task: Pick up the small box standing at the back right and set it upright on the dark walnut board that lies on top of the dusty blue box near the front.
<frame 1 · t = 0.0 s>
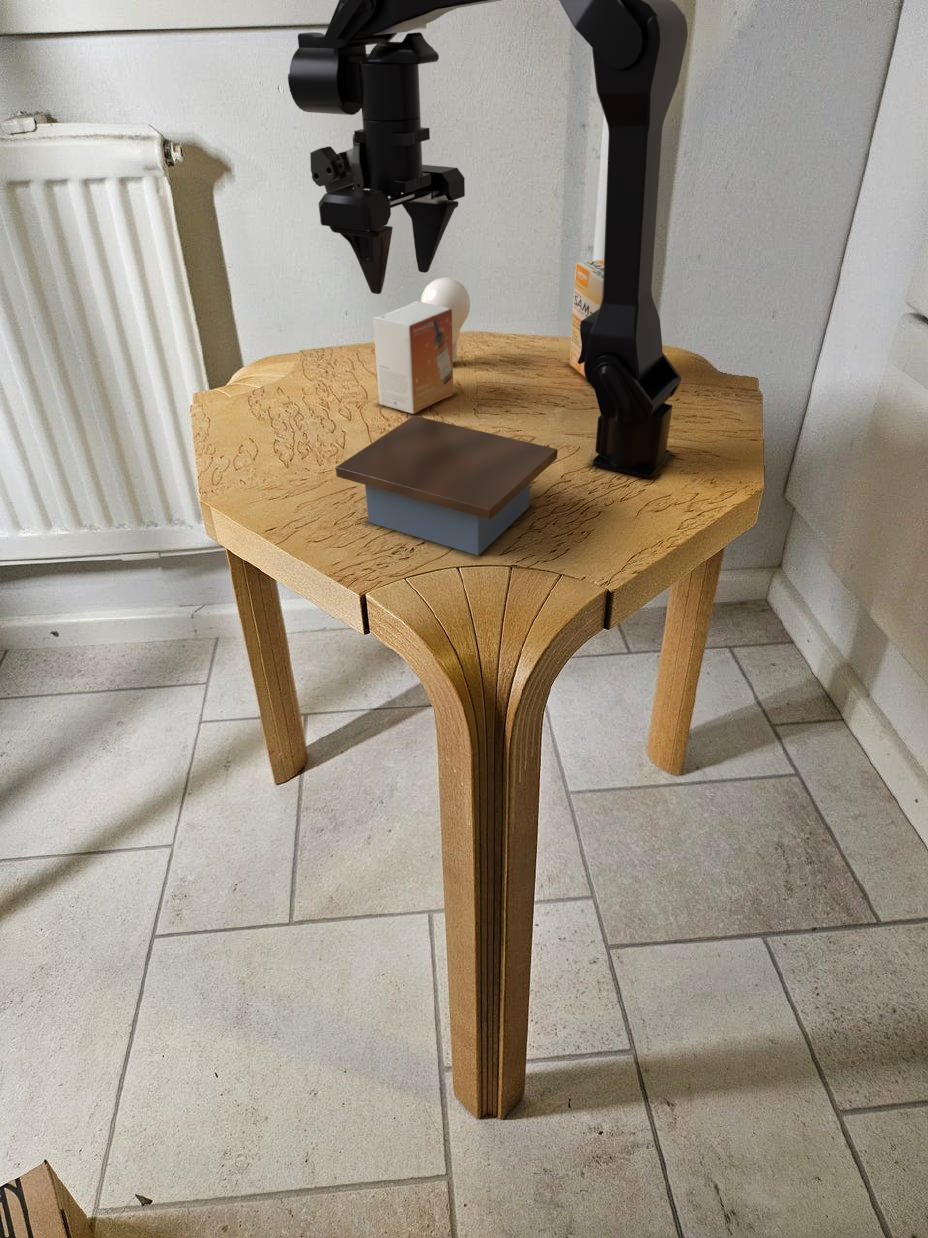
hand: (400, 282, 93), 15 cm above the table, tool pointing down, fingers open, 9 cm apart
lightbulb: (447, 365, 114), on the table
wooden board: (448, 462, 79), on the blue box, point 5 cm above the table
supplement box: (597, 375, 110), on the table
small box: (417, 401, 105), on the table
blue box: (449, 514, 82), on the table
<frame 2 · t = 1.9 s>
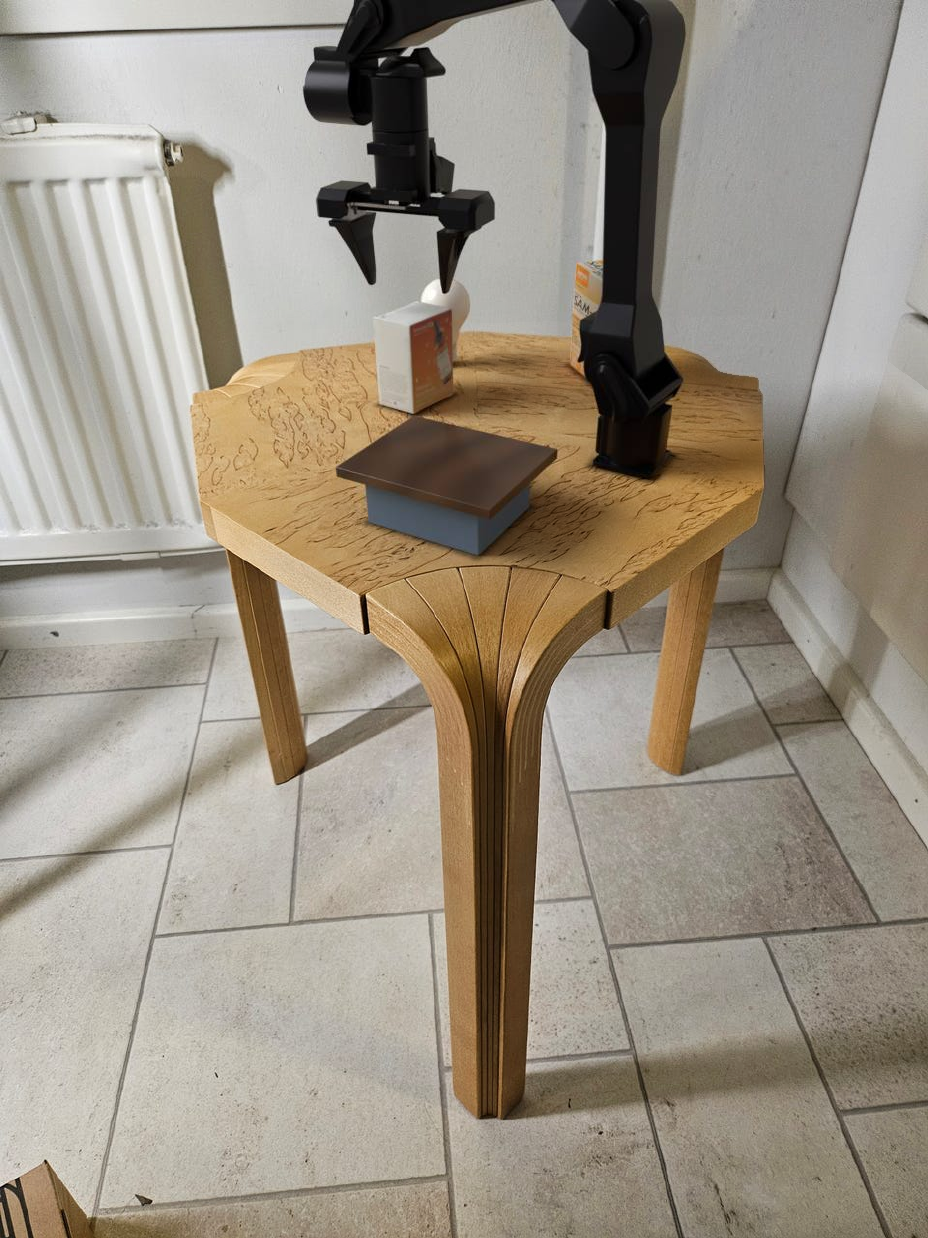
hand: (408, 288, 96), 13 cm above the table, tool pointing down, fingers open, 9 cm apart
nothing on the table moved.
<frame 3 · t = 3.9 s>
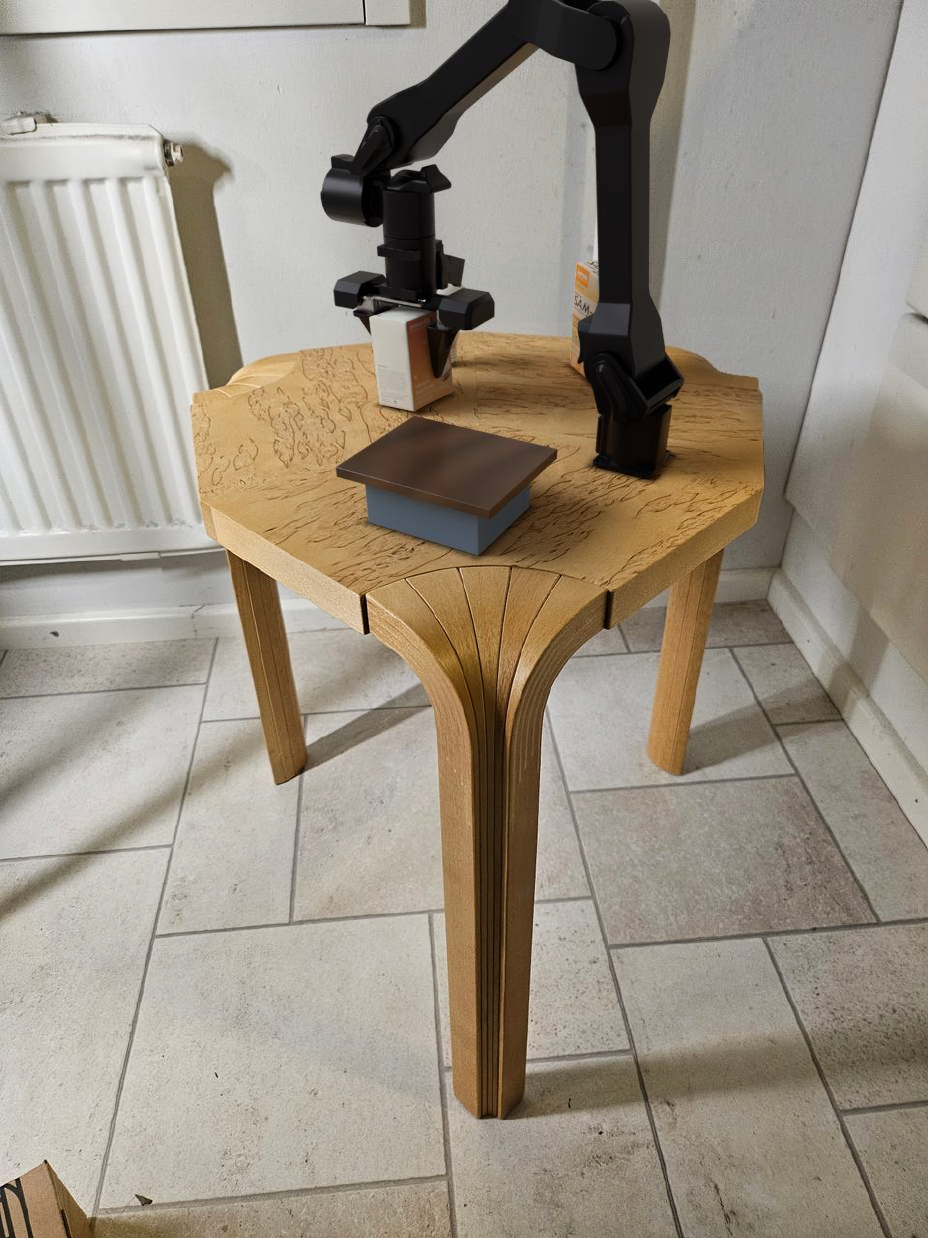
hand: (415, 372, 102), 3 cm above the table, tool pointing down, fingers closed on small box, 6 cm apart
small box: (417, 399, 104), on the table, touching gripper
everything else where it was.
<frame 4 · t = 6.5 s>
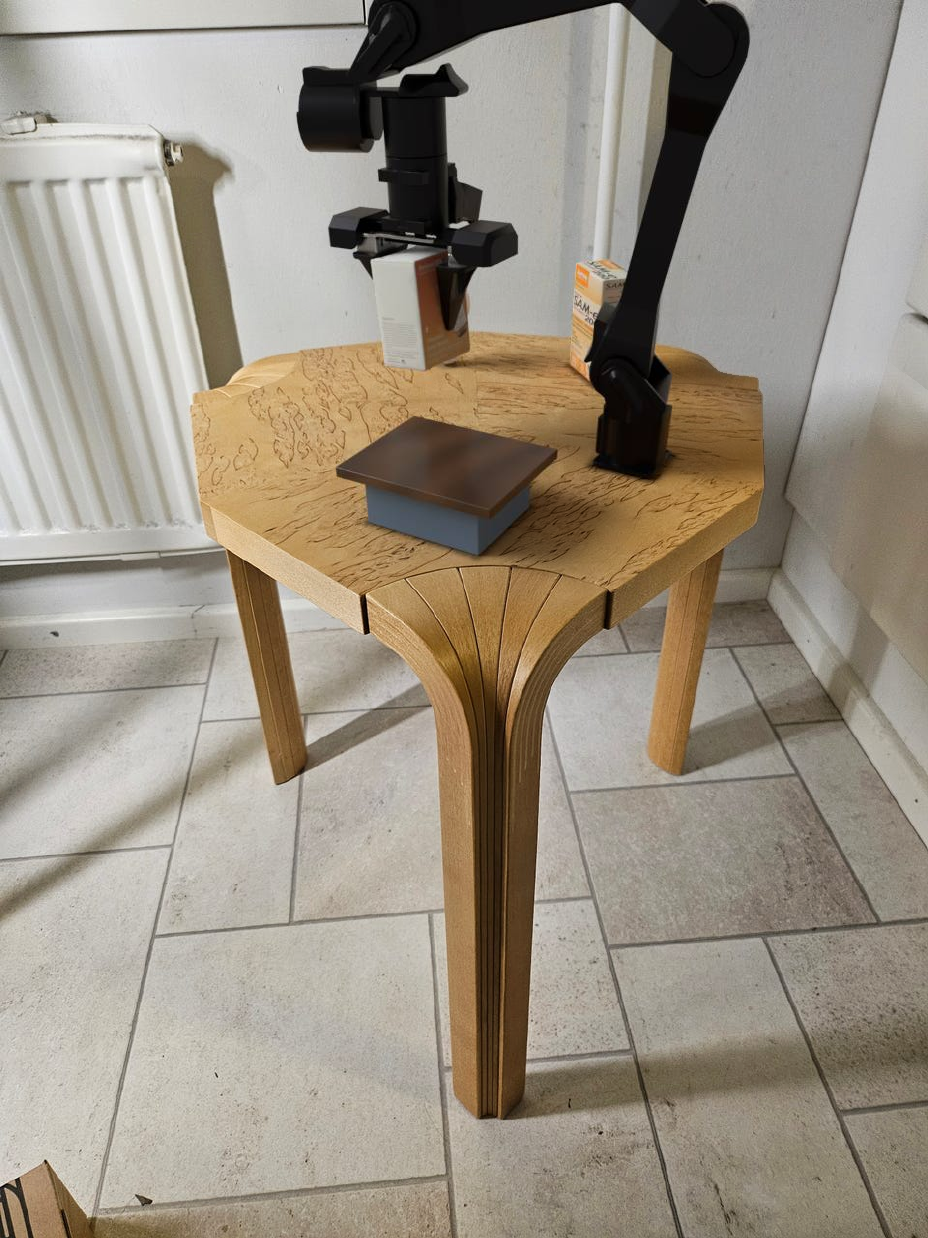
hand: (425, 325, 88), 13 cm above the table, tool pointing down, fingers closed on small box, 6 cm apart
small box: (428, 360, 89), point 9 cm above the table, touching gripper
everything else where it was.
when the fingers open (10 cm above the table, at t = 9.1 s): small box stays where it is, resting on wooden board.
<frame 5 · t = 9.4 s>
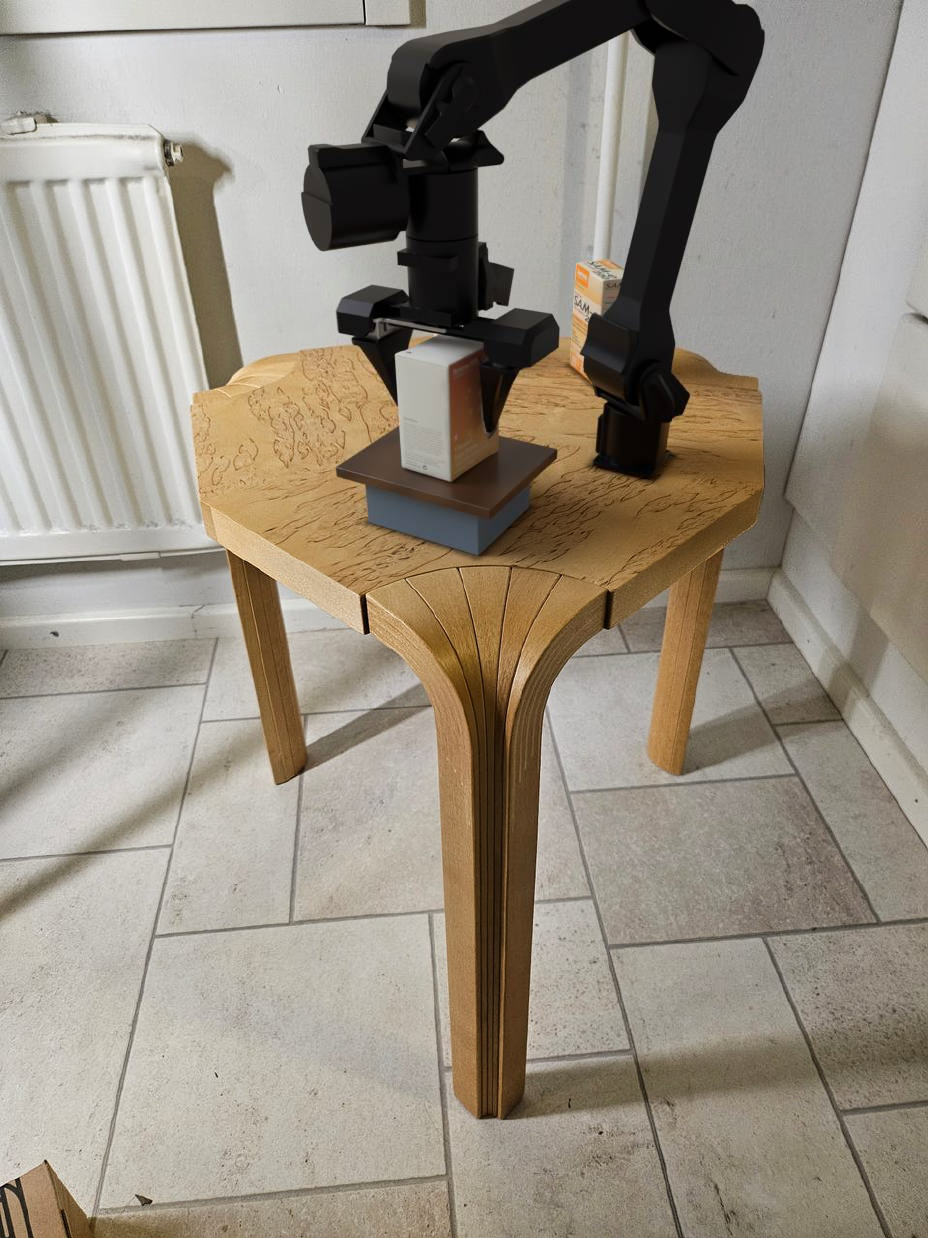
hand: (447, 420, 76), 10 cm above the table, tool pointing down, fingers open, 9 cm apart
small box: (451, 461, 78), point 6 cm above the table, touching wooden board
everything else where it was.
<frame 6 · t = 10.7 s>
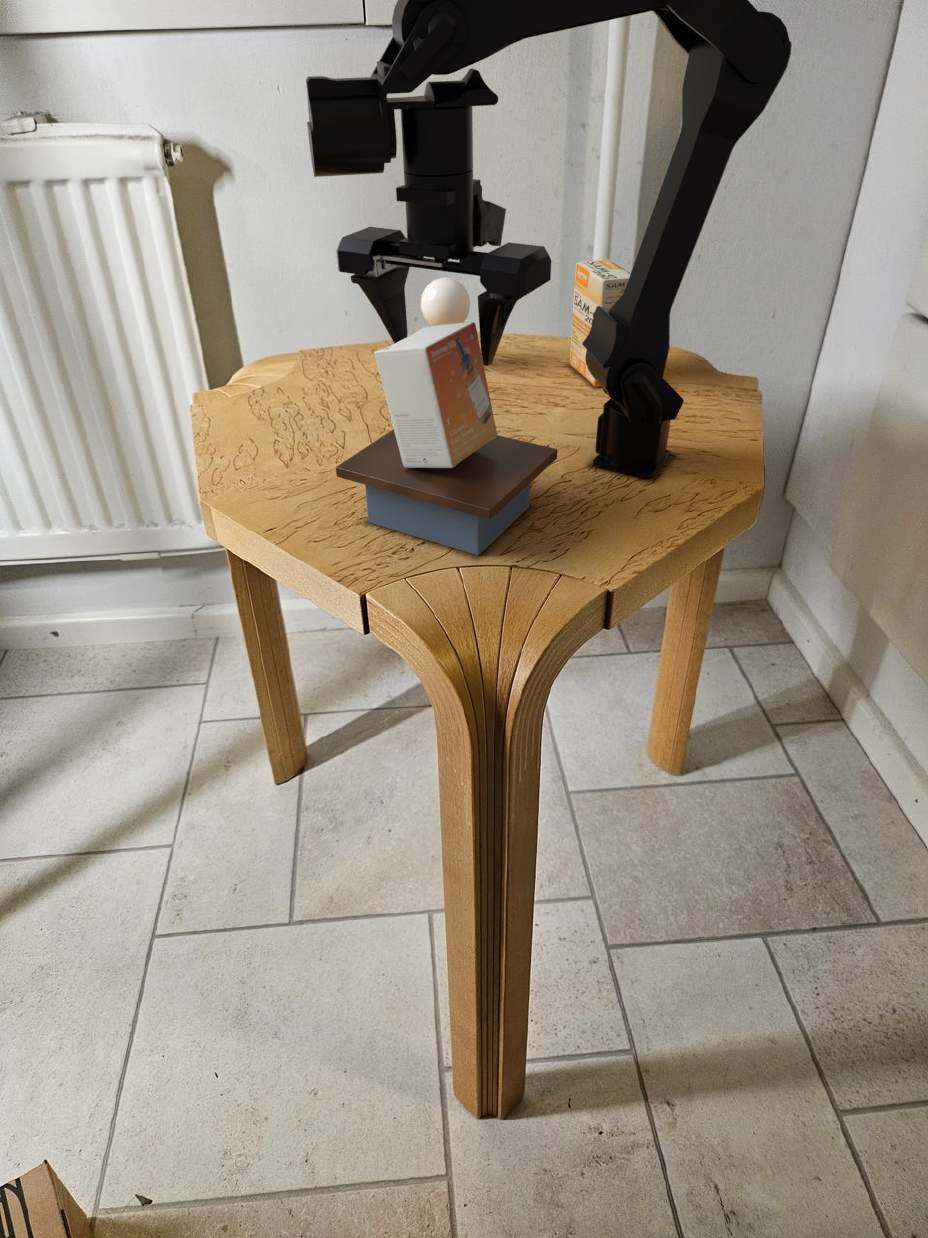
hand: (444, 356, 80), 13 cm above the table, tool pointing down, fingers open, 9 cm apart
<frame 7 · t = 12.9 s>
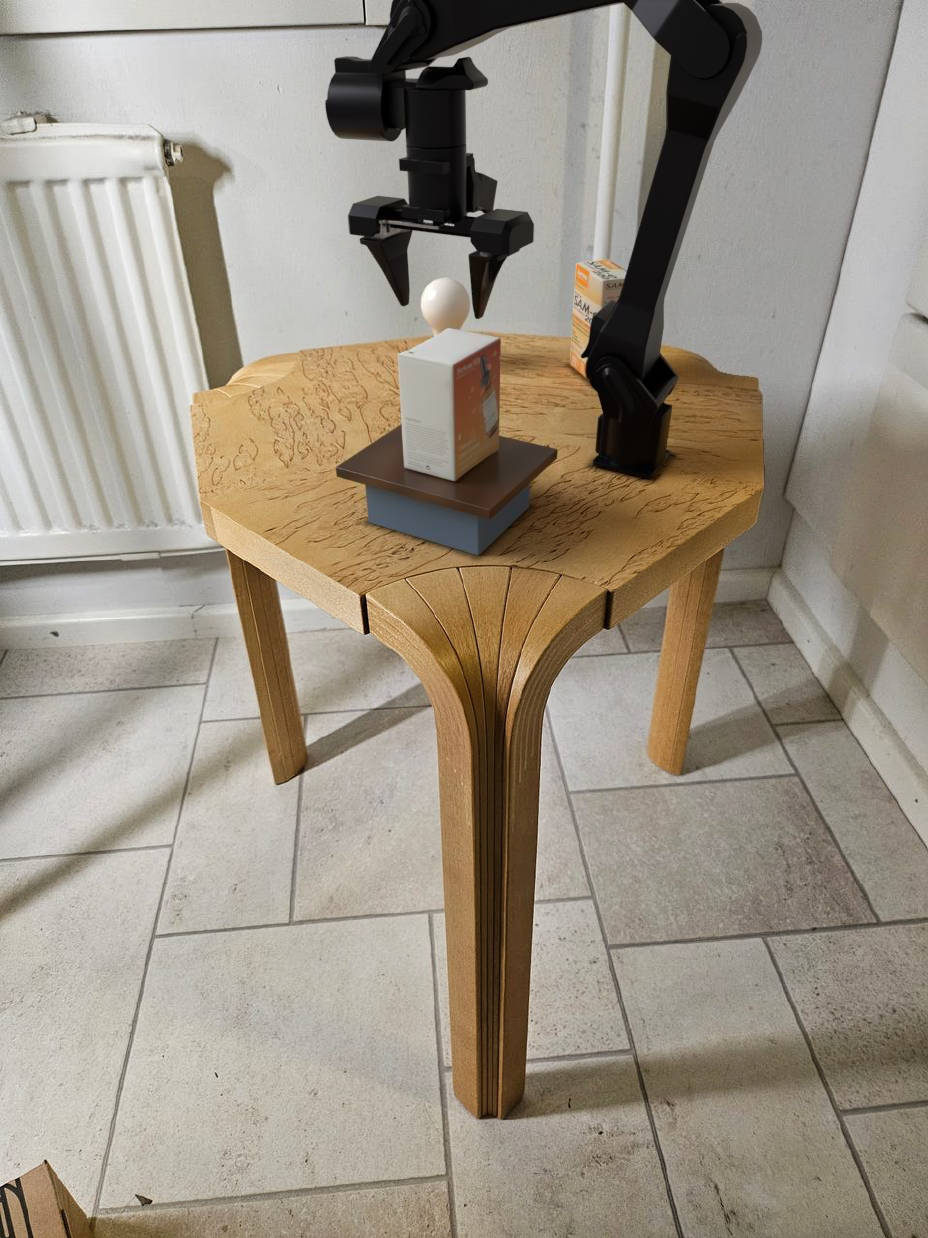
hand: (441, 311, 90), 13 cm above the table, tool pointing down, fingers open, 9 cm apart
at the end: small box inside the target area on the wooden board (0.5 cm from its centre), point 5.8 cm above the wooden board's base; small box tilted 0°; the gripper is holding nothing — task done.
